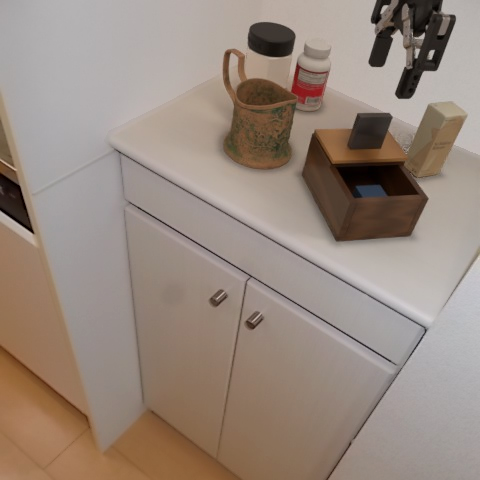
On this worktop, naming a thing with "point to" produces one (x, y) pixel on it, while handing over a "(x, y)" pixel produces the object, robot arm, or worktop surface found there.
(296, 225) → the worktop surface
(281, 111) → the brown green pitcher
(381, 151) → the slide door
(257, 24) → the jar
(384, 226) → the walnut box
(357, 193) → the block
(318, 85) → the pill bottle
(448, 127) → the box
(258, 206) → the worktop surface
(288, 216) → the worktop surface
